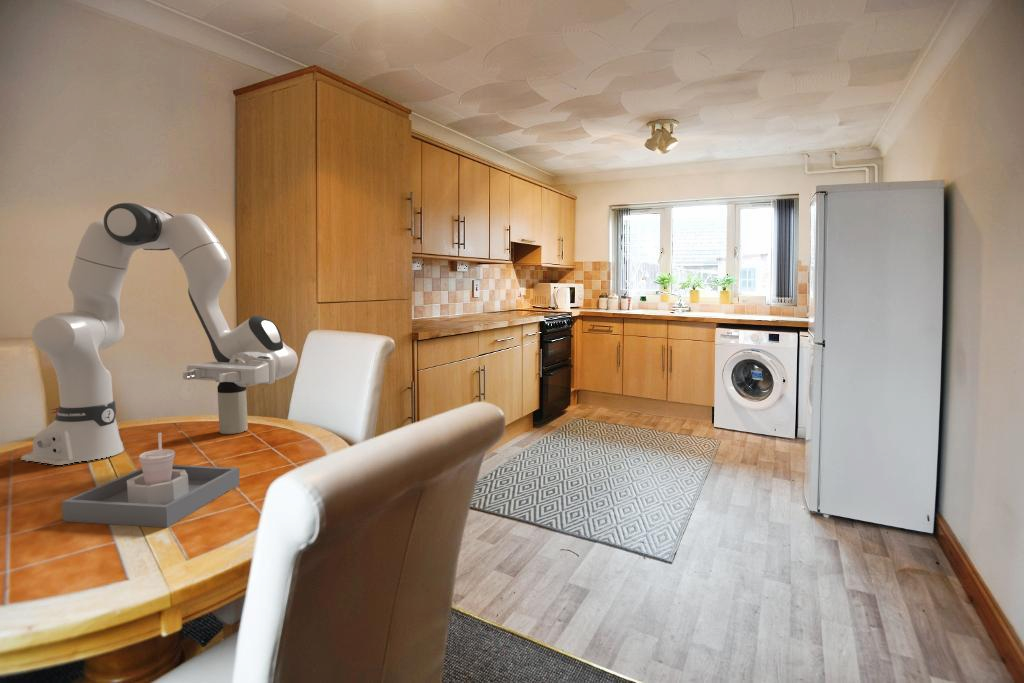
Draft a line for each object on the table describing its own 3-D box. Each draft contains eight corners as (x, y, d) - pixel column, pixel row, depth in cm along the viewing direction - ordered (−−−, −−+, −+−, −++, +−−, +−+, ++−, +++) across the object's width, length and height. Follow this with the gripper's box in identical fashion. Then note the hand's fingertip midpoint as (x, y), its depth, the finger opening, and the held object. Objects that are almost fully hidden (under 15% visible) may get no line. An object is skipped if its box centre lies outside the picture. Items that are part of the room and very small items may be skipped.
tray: (63, 521, 101) (61, 495, 100) (152, 480, 123) (151, 458, 122) (167, 527, 99) (165, 501, 98) (239, 484, 120) (238, 462, 120)
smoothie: (179, 499, 110) (177, 434, 108) (142, 506, 105) (139, 440, 104) (173, 489, 114) (171, 427, 113) (138, 496, 110) (135, 432, 109)
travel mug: (239, 435, 161) (237, 377, 159) (214, 434, 161) (211, 377, 159) (252, 428, 169) (250, 373, 167) (228, 427, 169) (225, 373, 167)
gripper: (214, 354, 136) (165, 361, 122) (279, 358, 130) (235, 366, 117) (215, 378, 136) (167, 387, 123) (280, 383, 131) (237, 393, 117)
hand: (201, 377), depth 120 cm, fingers open, 8 cm apart
